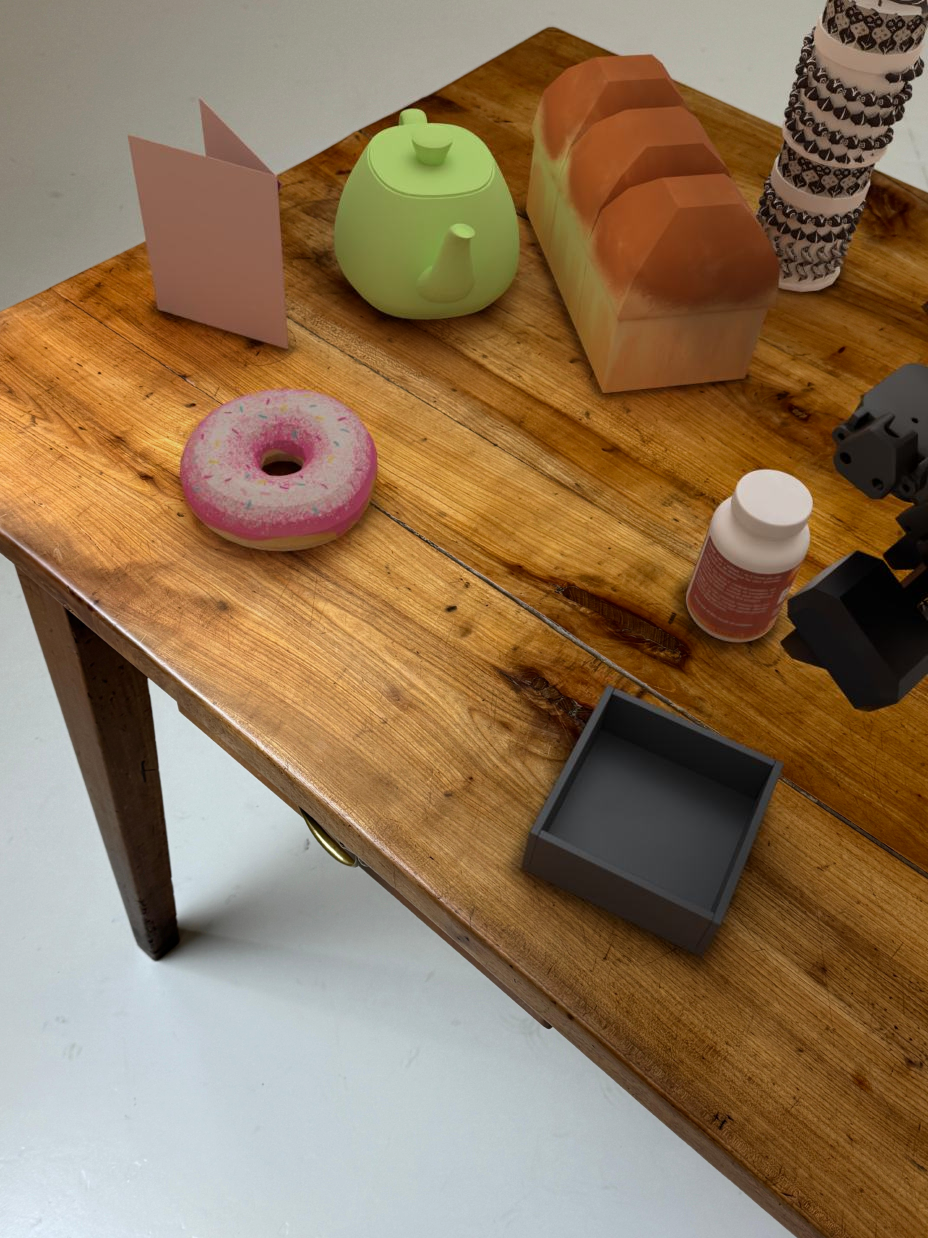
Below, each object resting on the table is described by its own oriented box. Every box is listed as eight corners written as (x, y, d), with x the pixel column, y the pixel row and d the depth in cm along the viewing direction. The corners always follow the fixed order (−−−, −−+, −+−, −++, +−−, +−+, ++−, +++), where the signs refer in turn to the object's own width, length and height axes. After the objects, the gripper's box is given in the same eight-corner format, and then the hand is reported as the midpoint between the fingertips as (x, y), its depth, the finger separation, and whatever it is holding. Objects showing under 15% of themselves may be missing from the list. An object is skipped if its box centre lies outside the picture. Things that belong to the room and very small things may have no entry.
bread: (750, 381, 93) (806, 218, 81) (600, 397, 91) (635, 232, 79) (652, 197, 108) (688, 36, 96) (521, 207, 105) (540, 43, 94)
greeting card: (298, 345, 92) (288, 172, 80) (212, 377, 89) (189, 203, 77) (229, 266, 98) (209, 93, 86) (146, 294, 95) (114, 119, 83)
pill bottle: (778, 650, 77) (832, 541, 69) (685, 641, 77) (727, 530, 68) (771, 577, 81) (820, 464, 72) (682, 568, 81) (721, 454, 72)
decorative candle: (831, 231, 106) (939, -63, 86) (854, 296, 101) (975, -1, 81) (732, 226, 106) (817, -70, 86) (750, 292, 100) (845, -9, 80)
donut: (193, 578, 78) (184, 528, 74) (177, 436, 85) (167, 384, 81) (394, 552, 80) (395, 502, 76) (360, 417, 88) (360, 365, 84)
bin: (763, 801, 71) (784, 763, 67) (701, 958, 64) (720, 925, 61) (595, 724, 73) (607, 684, 69) (520, 868, 67) (529, 832, 63)
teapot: (547, 368, 93) (570, 224, 82) (358, 385, 90) (357, 238, 80) (486, 203, 105) (500, 60, 95) (319, 214, 103) (314, 68, 92)
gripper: (1074, 254, 53) (851, 406, 67) (830, 437, 45) (634, 567, 59) (1222, 453, 53) (967, 564, 67) (1004, 675, 45) (765, 749, 59)
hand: (839, 603), depth 63 cm, fingers open, 9 cm apart
